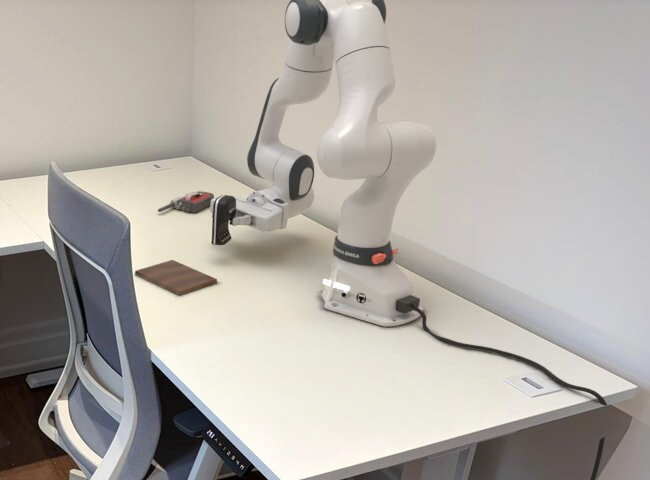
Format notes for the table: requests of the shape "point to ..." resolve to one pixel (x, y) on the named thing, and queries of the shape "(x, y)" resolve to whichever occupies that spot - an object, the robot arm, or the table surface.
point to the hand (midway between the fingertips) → (222, 219)
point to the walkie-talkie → (191, 202)
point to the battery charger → (222, 219)
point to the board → (175, 277)
